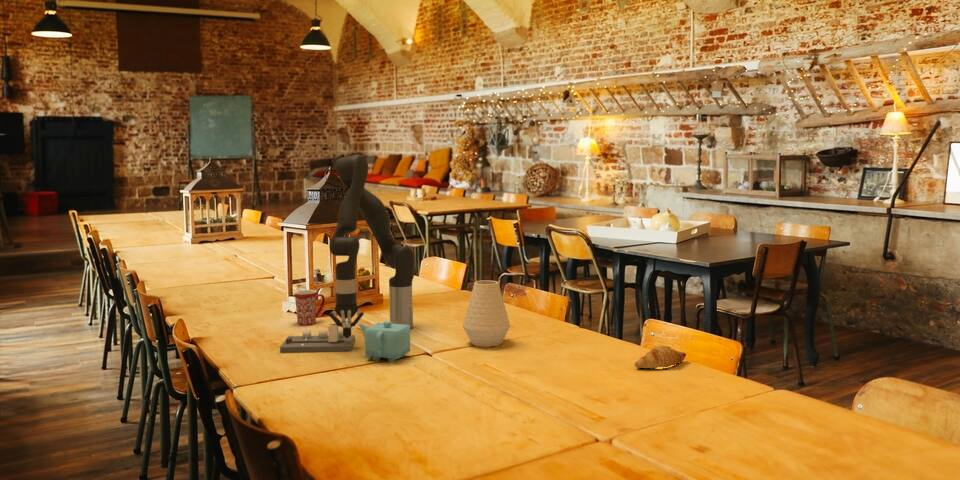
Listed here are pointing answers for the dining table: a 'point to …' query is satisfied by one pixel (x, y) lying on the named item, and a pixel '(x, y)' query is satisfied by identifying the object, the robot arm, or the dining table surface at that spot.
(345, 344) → the console
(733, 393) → the dining table surface
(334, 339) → the block
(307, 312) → the mug
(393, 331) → the teapot
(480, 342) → the vase
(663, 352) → the croissant
